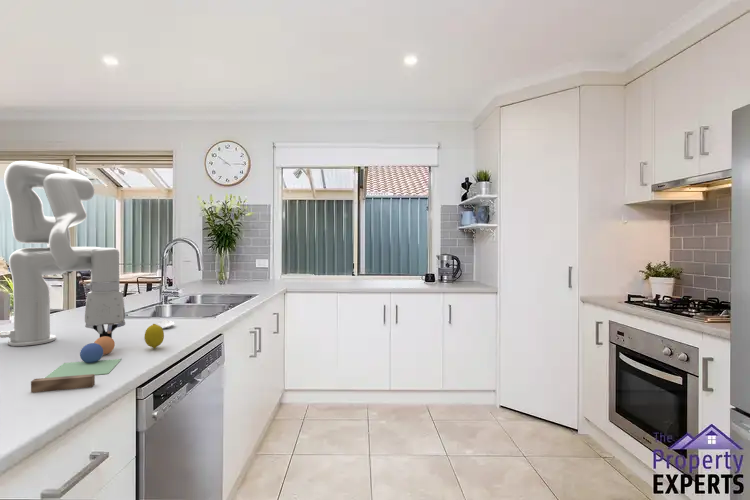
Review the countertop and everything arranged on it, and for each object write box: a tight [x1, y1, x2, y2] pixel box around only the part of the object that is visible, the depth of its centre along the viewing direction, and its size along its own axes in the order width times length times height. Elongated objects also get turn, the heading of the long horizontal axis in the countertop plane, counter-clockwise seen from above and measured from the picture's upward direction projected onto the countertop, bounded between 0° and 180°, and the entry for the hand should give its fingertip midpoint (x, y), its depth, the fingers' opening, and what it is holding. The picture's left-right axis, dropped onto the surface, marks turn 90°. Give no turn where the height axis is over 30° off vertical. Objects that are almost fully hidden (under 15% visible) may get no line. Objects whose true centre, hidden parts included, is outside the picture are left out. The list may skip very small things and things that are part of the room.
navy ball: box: [79, 342, 104, 363], centre depth 121 cm, size 6×6×6 cm
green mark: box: [44, 358, 122, 378], centre depth 116 cm, size 14×14×1 cm
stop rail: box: [30, 374, 96, 393], centre depth 100 cm, size 12×2×2 cm, turn 109°
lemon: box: [144, 323, 165, 349], centre depth 137 cm, size 6×6×8 cm
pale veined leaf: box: [155, 318, 175, 330], centre depth 170 cm, size 8×12×2 cm, turn 21°
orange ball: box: [93, 336, 116, 356], centre depth 130 cm, size 6×6×6 cm
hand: (105, 345), depth 134 cm, fingers closed
